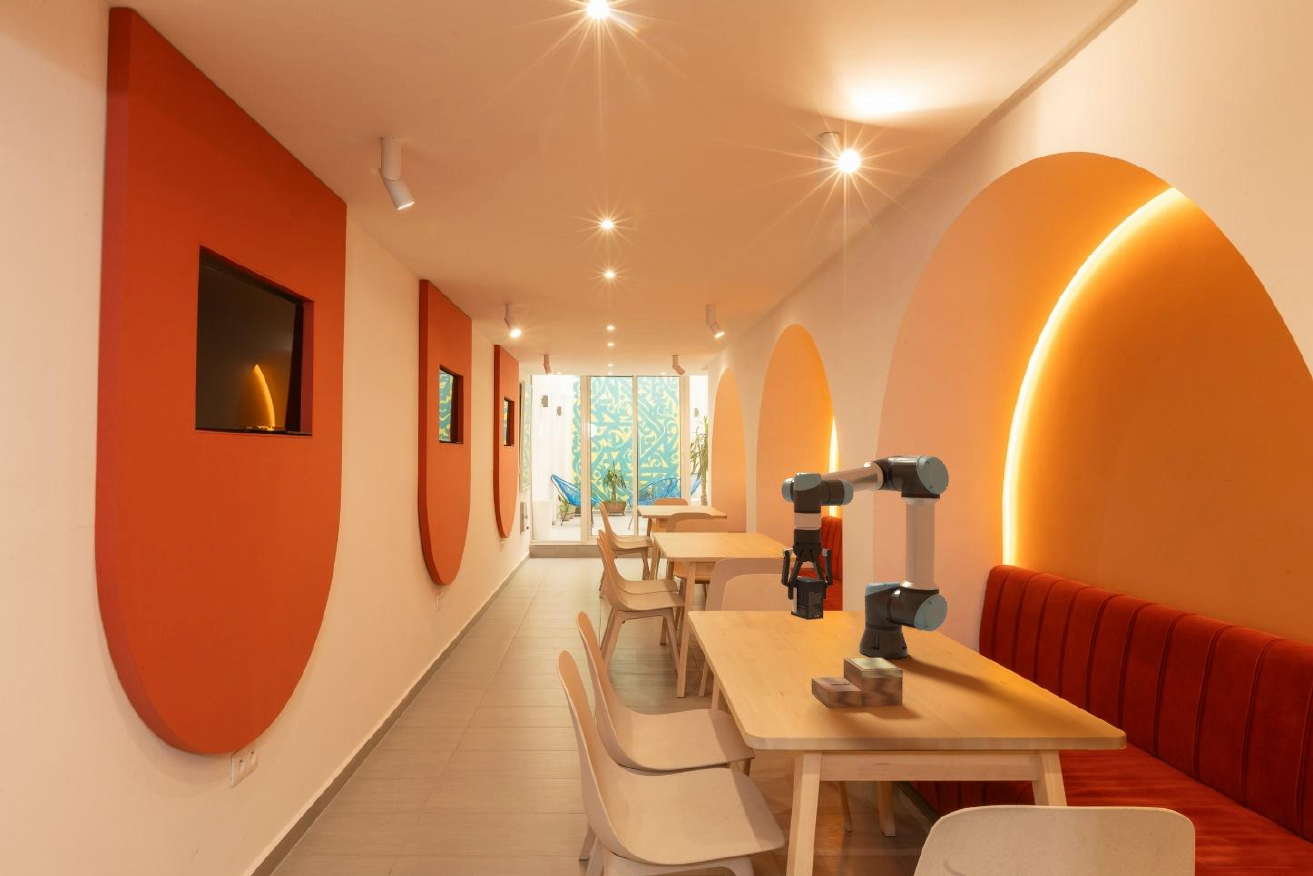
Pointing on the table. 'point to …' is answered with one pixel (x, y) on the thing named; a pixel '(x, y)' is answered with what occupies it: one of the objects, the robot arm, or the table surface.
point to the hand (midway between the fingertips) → (806, 611)
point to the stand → (862, 684)
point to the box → (809, 598)
